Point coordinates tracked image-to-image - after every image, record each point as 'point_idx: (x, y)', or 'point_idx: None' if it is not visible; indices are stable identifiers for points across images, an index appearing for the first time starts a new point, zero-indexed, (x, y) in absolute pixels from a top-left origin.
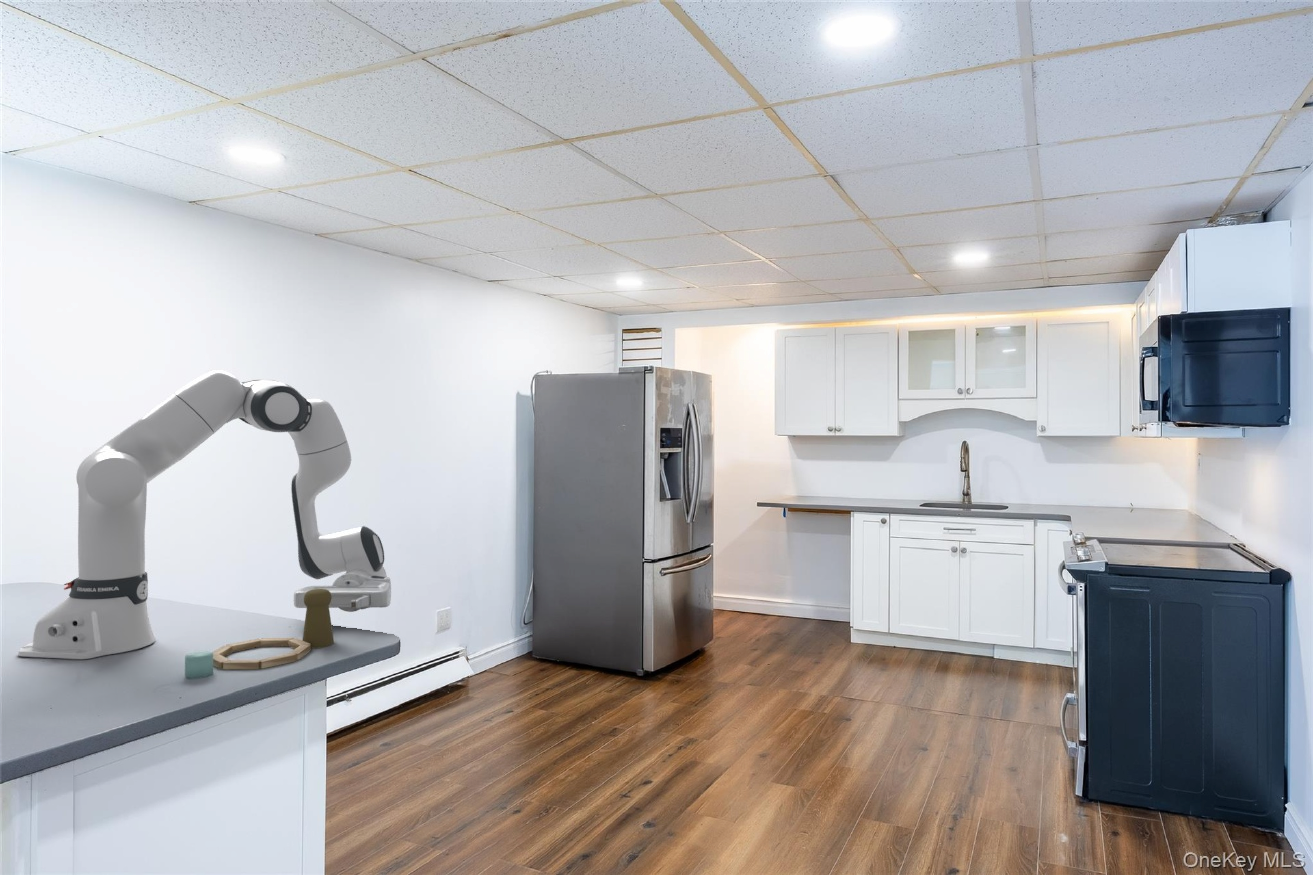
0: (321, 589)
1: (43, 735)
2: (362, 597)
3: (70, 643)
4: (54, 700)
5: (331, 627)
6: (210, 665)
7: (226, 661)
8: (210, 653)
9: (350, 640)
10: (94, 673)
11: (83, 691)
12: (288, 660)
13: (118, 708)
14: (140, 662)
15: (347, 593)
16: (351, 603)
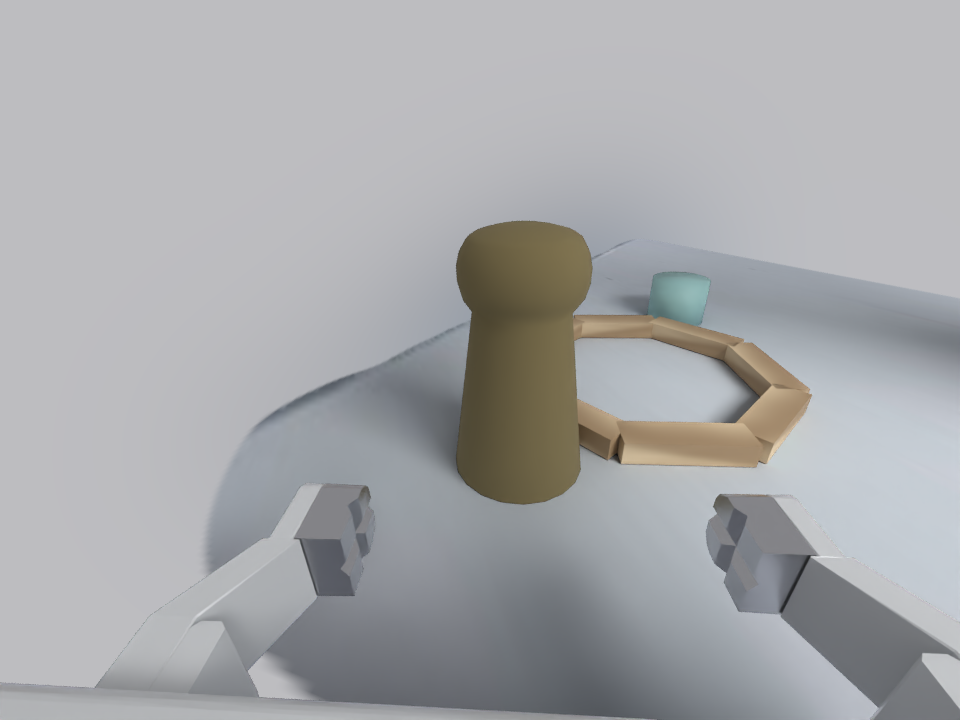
0: (506, 225)
1: (665, 248)
2: (236, 573)
3: None
4: (785, 277)
5: (462, 406)
6: (650, 296)
7: (651, 318)
8: (667, 282)
9: (391, 491)
10: (918, 325)
11: (791, 288)
12: None
13: (659, 267)
14: (931, 360)
15: (427, 708)
16: (368, 495)
